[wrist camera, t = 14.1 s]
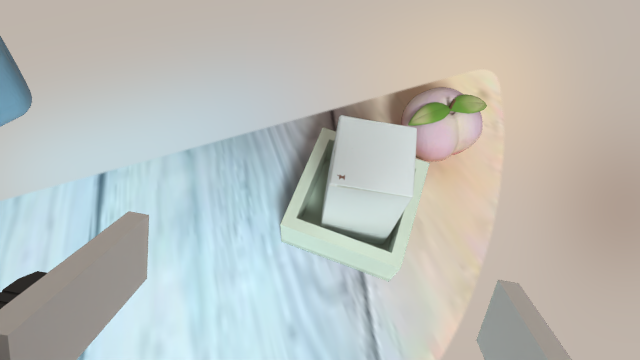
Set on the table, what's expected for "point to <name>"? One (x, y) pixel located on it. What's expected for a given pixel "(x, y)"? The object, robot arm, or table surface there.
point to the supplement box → (369, 178)
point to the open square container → (308, 235)
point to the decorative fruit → (443, 122)
